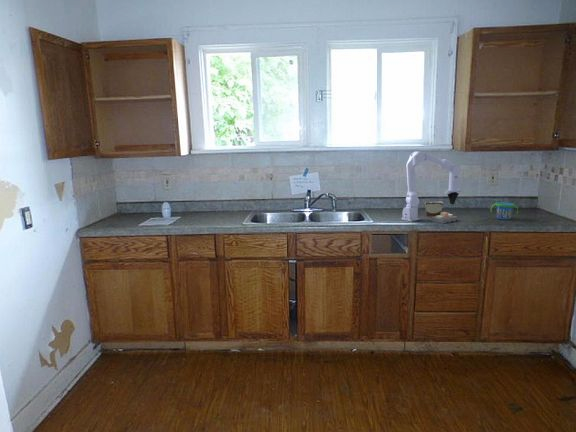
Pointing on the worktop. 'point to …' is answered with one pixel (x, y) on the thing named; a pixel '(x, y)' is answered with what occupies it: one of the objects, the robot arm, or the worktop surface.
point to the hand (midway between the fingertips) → (452, 204)
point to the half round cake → (433, 208)
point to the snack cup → (504, 210)
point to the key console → (444, 219)
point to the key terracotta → (444, 214)
